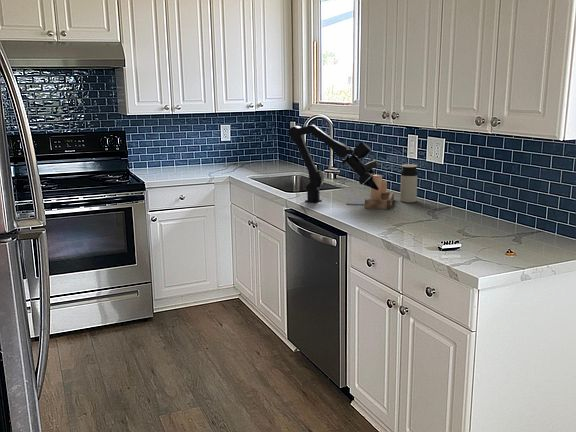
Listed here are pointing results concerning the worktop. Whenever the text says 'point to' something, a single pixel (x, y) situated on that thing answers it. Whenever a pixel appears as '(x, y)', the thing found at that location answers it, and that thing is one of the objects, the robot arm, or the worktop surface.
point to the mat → (356, 202)
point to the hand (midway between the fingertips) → (378, 188)
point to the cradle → (381, 201)
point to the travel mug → (408, 183)
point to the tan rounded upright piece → (380, 184)
